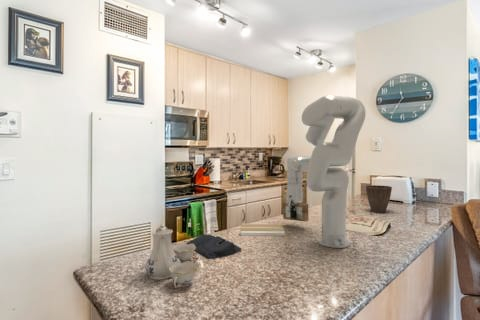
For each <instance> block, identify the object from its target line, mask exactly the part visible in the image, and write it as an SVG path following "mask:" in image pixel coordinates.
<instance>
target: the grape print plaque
mask: <svg viewBox="0 0 480 320" xmlns="http://www.w3.org/2000/svg"><path fill="white" fill-rule="evenodd" d="M391 224H392V223H391V222H389V221H386V220H383V219H381V218H377V217H373V216H372V217H371V216H367V215H356V214H346V232H350V233H356V234H363V235H367V234H368V235H367V236H378V235H380V234H381V235H382V234H383V233H384V232H386V231H387V228H388V227H389V226H391Z"/></svg>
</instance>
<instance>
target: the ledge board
mask: <svg viewBox="0 0 480 320" xmlns="http://www.w3.org/2000/svg"><path fill="white" fill-rule="evenodd" d="M240 226H241V227H240V237H245V236H247V237H249V236H250V237H253V236H254V237H285V235H286V234H285V227H283V223H241V224H240Z"/></svg>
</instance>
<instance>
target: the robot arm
mask: <svg viewBox="0 0 480 320" xmlns="http://www.w3.org/2000/svg"><path fill="white" fill-rule="evenodd" d="M366 115H367V114H366V107H365V105H364V104H363V102H362V101H361V100H359V99H357V98H354V97H350V96H342V95H341V96H339V95H324V96H321V97H319V98H318V99H317V100H315V101H313V102H311V103H310V104H308V105H307V106H306V107H305V108H304V110H303V111H302V114H301V122H302V124H303V125H304V126H307V127H308V130H307V132H306V134H305V139H306V141H307V142H308V143H309V144H311V145H313V146H315V147H314V148H313V150H312V153H311V155H304V156H303V155H300V156H299V155H298V156H289V157H288V158H287V159H286V167H287V168H286V169H287V170H286V172H287V173H286V174H287V177H286V179H287V185H286V196H285V197H286V198H285V199H286V200H285V201H286V202H285V203H287V204H288V206H289V208H290V218H294V219H296V218H297V210H296V204H299V203H301V204H303V202H304V194H303V191H304V190H303V182H304V181H303V173H306V172H307V174H306V177H305V178H306V179H305V180H306V186H307V187H308V189H309V190H310V191H312V192H324V193H323V196H322V198H321V236H320V237H318V238H317V244H319V245H321V246H323V247H326V248H333V249H345V248H348V247H349V246H350V243H351V242H350V240H348V239H347V237H346V236H347V235H346V234H347V233H346V232H347V231H346V215H347V195H348V194H347V193H348V187H349V183H350V181H349V179H350V178H349V174H348V172H347V171H346V170H345V169H344V168H341V167H344V166H347V165H349V164H350V163H351V160H352V157H353V155H354V151H355V148H356V145H357V141H358V137H359V135H360V132H361V131H362V127H363V125H364V123H365V119H366ZM336 119H343V121H342V122H341V123H340V124H339V125H338V126H337V128H336V130H335V132H334V135H333V138H332V141H331V142H325V140H326V139H327V136H328V134H329V132H330V130H331V127H332V126H333V125H334V124H333V123H334V121H335V120H336ZM292 203H294V204H292ZM292 205H294V206H292Z"/></svg>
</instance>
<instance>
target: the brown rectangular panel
mask: <svg viewBox="0 0 480 320" xmlns="http://www.w3.org/2000/svg"><path fill="white" fill-rule="evenodd" d="M292 204H294V203H292ZM292 206H294V205H292ZM296 210H297V218H296V219H294V218H290V208H289V206H288V204H287V203H286V202H283V203H282V214H283V215H282V217H283V220H289V221H290V220H291V221H295V222H296V221H297V222H305V223H306V222H307V221H309V218H310V217H309V216H310V215H309V204H308V203H302V204H301V203H299V204H296Z"/></svg>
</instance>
